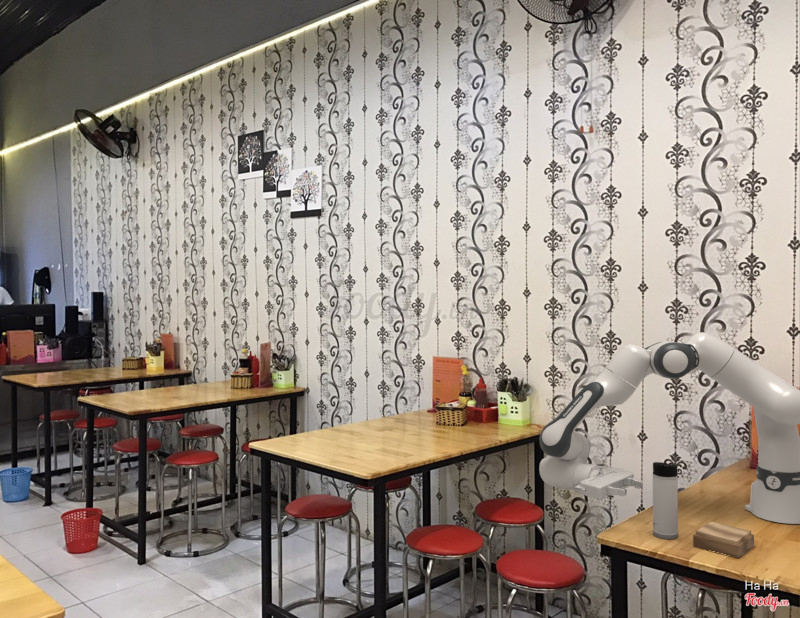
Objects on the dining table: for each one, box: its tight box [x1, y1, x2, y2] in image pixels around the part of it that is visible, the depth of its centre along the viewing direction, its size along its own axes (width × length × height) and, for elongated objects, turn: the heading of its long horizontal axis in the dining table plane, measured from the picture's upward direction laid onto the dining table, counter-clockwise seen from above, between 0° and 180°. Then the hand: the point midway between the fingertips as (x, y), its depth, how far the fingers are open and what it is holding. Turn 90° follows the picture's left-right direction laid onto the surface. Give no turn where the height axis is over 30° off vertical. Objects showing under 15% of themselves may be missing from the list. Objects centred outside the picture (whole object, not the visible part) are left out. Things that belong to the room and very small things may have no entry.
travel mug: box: [652, 461, 679, 540], centre depth 176 cm, size 6×7×20 cm
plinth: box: [692, 521, 755, 560], centre depth 168 cm, size 11×11×4 cm
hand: (633, 489), depth 183 cm, fingers open, 8 cm apart
